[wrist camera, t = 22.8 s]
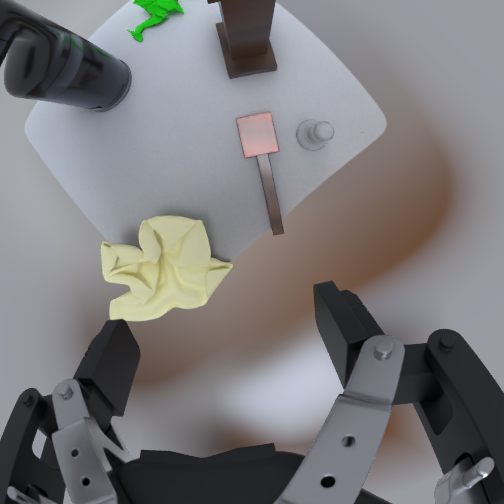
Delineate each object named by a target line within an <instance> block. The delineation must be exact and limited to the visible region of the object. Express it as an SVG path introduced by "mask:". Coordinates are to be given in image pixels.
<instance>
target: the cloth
mask: <svg viewBox="0 0 504 504" xmlns="http://www.w3.org/2000/svg"><path fill="white" fill-rule="evenodd" d="M139 244H140V246H141V248H142V249H143V251H144V252H143V251H142V250H140V249H139V248H138V247H136V246H133V245H126V244H117V243H109V242H107V241H103V242H102V245H101V261H102V270H103V276H104V279H105V281H107V282H110V283H118V284H126V285H128V286H129V287H130V291H128V292H126V293H124V294H123V295H121V296H120V297H118V298H116V299H113V300H112V301H111V303H110V319H111V320H115V319H124V320H125V321H145V320H151V319H156V318H159V317H161V316H162V315H164V314H165V313H166V312H168V311H169V310H170V309H172V308H173V307H179V308H184V309H193V308H197V307H200V306H203V305H205V304H206V303H207V301H208V300H209V298H210V297H211V296H212V294H213V292H214V291H215V289H216V288H217V287H218V286H219V284H220V283H221V282H222V281H223V279H224V278H225V277H226V275H227V274H228V273H229V271H230V270H231V269H232V268H233V265H232V263H230V262H228V263H227V262H222V261H219V260H217V259H215V258H212V257H211V251H210V245H209V240H208V237H207V233H206V230H205V227H204V224H203V222H202V221H201V220H193V219H189V218H186V217H182V216H172V215H167V216H154V217H151V218H149V219H146V220H144V221H142V223H141V225H140V228H139Z"/></svg>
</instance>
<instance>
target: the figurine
mask: <svg viewBox="0 0 504 504" xmlns="http://www.w3.org/2000/svg"><path fill="white" fill-rule="evenodd" d="M177 1H178V0H135V1H134V2H133V3H134V4H137V5H139V6H141V7H142V8H144V9H145V10H147V11H148V12H149V13H150V14H152V16H151V18H149V19H148V20H146V21H145V22H143V23H142V24H140V25H139V26H137V27H136V31H135V32H134V31H129V30H127V31H129V32H130V33H132V34H133V35H132V36H134V37H133V38H135V39H136V40H138V41H139V42H141V41H142V40H143V39H142V36H141V33H142V31H143V29H144V28H146V27H149V26H152V25H155V24H158V23H160V22H161V21H162V20H163V19H164V18H167V17H166V16H167V15H168V13H165V12H168V10H169V11H171V12H175V11H180V12H181V13H183V9H182V8H181V7H180V6H179V5H178V3H177ZM183 14H184V13H183ZM167 19H168V18H167Z"/></svg>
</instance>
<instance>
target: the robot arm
mask: <svg viewBox="0 0 504 504" xmlns="http://www.w3.org/2000/svg"><path fill="white" fill-rule="evenodd" d="M6 54H7V59H6V65H5V70H4V84H5V88H6V90H7V92H8V93H9V94H10V95H12V96H14V97H18V98H25V99H34V100H41V101H48V102H54V103H60V104H66V105H71V106H76V107H81V108H86V109H90V110H86V111H89V112H90V111H98V112H102V111H107V110H109V109H111V108H113V107H115V106H116V105H117V104H118V103H119V102H120V101H121V100H122V99H123V98H124V97H125V95H126V93H127V91H128V89H129V87H130V83H131V72H130V69H129V67H128V66H127V65H126V64H125V63H124V62H123V61H121V60H118V59H117V58H115V57H114V56H112V55H111V54H109V53H107V52H106V51H104V50H102V49H101V48H99V47H98V46H96V45H94V44H92V43H91V42H89V41H87V40H86V39H84V38H82V37H80V36H78V35H77V34H75V33H73V32H71V31H69V30H67V29H65V28H64V27H62V26H60V25H58V24H56V23H54V22H52V21H50V20H48V19H46V18H44V17H42V16H40V15H39V14H37V13H35V12H33V11H32V10H30V9H28V8H26V7H25V6H23V5H21V4H19V3H17V2H16V1H14V0H0V67H1V64H2V62H3V60H4V58H5V56H6ZM313 289H314V304H315V318H316V323H317V327H318V330H319V332H320V335H321V337H322V339H323V341H324V344H325V346H326V348H327V351H328V353H329V355H330V357H331V360H332V363H333V365H334V367H335V369H336V372H337V374H338V377H339V379H340V381H341V384H342V386H343V389H345V390H344V392H343V394H339V396H338V397H337V399H336V400H335V403H334V404H333V407H332V409H331V411H330V413H329V415H328V417H327V418H326V420H325V422H324V424H323V426H322V428H321V430H320V432H319V434H318V436H317V437H316V439H315V441H314V443H313V445H312V446H311V448H310V450H309V451H308V453H307V455H306V456H304V455H301V454H296V453H293V452H286V451H276V449H275V446H274V443H270V444H264V445H257V446H250V447H242V448H236V449H233V450H230V451H227V452H224V453H220V454H217V455H213V456H210V457H206V458H199V457H194V456H189V455H184V454H180V453H176V452H172V451H155V450H141V454H140V458H138V459H135V460H134V459H133V458H132V456H131V455H130V453H129V451H128V450H127V448H126V446H125V444H124V442H123V441H122V438H121V437H120V435H119V433H118V431H117V429H116V427H115V425H114V423H113V422H112V421H111V418H112V416H123V415H124V411H125V407H126V404H127V400H128V396H129V393H130V390H131V386H132V383H133V380H134V376H135V373H136V370H137V366H138V363H139V360H140V349H139V346H138V344H137V342H136V340H135V338H134V336H133V334H132V332H131V331H130V329H129V327H128V325H127V323H126V321H125V320H124V319H115V320H108V321H106V323H105V325H104V326H103V328H102V330H101V332H100V333H99V334H98V335H97V336H96V337H95V338H94V339H93V340H92V342H91V343H90V345H89V347H88V350H87V351H86V353H85V357H83V359H82V361H81V363H80V365H79V367H78V369H77V371H76V373H75V375H74V377H73V379H66V380H64V381H62V382H61V383H59V384H58V385H57V386H56V387H55V389H54V391H53V394H52V395H47V396H42V395H41V394H40V393H39V392H38V390H37V389H35V388H29V389H27V390H25V391H24V392H23V393H22V394H21V395H20V397H19V398H18V400H17V402H16V404H15V407H14V409H13V411H12V413H11V416H10V418H9V420H8V422H7V425H6V427H5V430H4V432H3V435H2V437H1V440H0V504H63V499H64V493H65V488H67V490H68V493H69V496H70V498H71V501H72V503H73V504H392V503H390V502H388V501H386V500H384V499H382V498H379V497H378V496H376V495H374V494H372V493H370V492H368V491H366V490H364V489H363V488H362V486H363V484H364V482H365V480H366V478H367V475H368V473H369V471H370V468H371V466H372V464H373V462H374V459H375V457H376V454H377V451H378V449H379V446H380V444H381V441H382V438H383V435H384V432H385V429H386V426H387V423H388V420H389V417H390V414H391V410H392V406H393V405H398V404H408V403H413V405H414V407H415V409H416V412H417V413H418V416H419V418H420V420H421V422H422V424H423V427H424V429H425V431H426V433H427V436H428V438H429V440H430V442H431V445H432V447H433V449H434V452H435V454H436V457H437V459H438V462H439V464H440V467H441V469H442V472H443V474H444V476H442V478H441V479H440V480H439V481H438V483H437V485H436V488H435V492H434V496H435V504H504V393H503V391H502V390H501V388H500V387H499V385H498V384H497V382H496V381H495V380H494V378H493V377H492V375H491V374H490V373H489V371H488V370H487V368H486V367H485V366H484V364H483V363H482V362H481V360H480V359H479V358H478V356H477V355H476V354H475V352H474V351H473V350H472V349H471V347H470V346H469V345H468V344H467V342H466V341H465V340H464V338H463V337H462V336H461V335H460V334H459V333H457V332H455V331H453V330H449V329H439V330H436V331H434V332H433V333H432V334H431V335H430V336H429V338H428V341H427V343H422V344H412V345H403V344H402V342H401V341H400V340H399V339H397V338H395V337H393V336H390V335H385V334H384V332H383V331H382V330H381V328H380V327H379V325H378V324H377V323H376V321H375V320H374V318H373V317H372V315H371V314H370V313H369V311H367V309H366V307H365V306H364V305H363V303H362V302H361V300H360V299H359V298H358V296H357V295H356V294H354V293H352V292H350V291H348V290H343V291H339V290H338V288H337V287H336V285H335V284H334V282H333V281H328V282H324V283H319V284H315V285H314V287H313ZM37 429H39V430H40V431H41V432H42V433H43V434H44V435H45V436H46V437H47V439H46V442H45V445H44V448H43V451H42V455H41V458H40V459H39V458H38V457H36V456H35V455H34V453H33V451H32V444H33V441H34V438H35V435H36V432H37Z"/></svg>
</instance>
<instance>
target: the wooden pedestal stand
mask: <svg viewBox="0 0 504 504" xmlns="http://www.w3.org/2000/svg"><path fill="white" fill-rule="evenodd" d="M275 1H276V0H207V2H208V4H211V3H215V2H218V3H219V7H220V12H221V16H222V21H223V22H221V23H217V24H216V27H217V31H218V35H219V39H220V43H221V47H222V51H223V54H224V58H225V62H226V66H227V70H228V74H229V78H230V79H232V78H236V77H241V76H246V75H251V74H257V73H262V72H268V71H275V70H277V64H276V61H275V57H274V54H273V50H272V47H271V44H270V40H269V36H270V30H271V24H272V18H273V13H274V7H275Z"/></svg>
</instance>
